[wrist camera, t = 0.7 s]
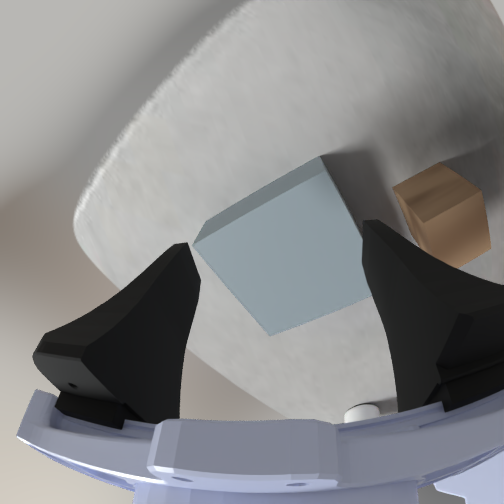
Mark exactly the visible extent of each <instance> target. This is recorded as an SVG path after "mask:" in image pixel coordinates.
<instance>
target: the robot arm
mask: <svg viewBox="0 0 504 504" xmlns="http://www.w3.org/2000/svg"><path fill="white" fill-rule="evenodd" d="M362 266H363V270H364V274H365V277H366V281H367V284H368V287H369V289H370V292H371V294H372V297H373V299H374V302H375V304H376V307H377V309H378V312H379V315H380V317H381V320H382V323H383V325H384V329H385V332H386V336H387V340H388V344H389V349H390V354H391V359H392V364H393V370H394V377H395V384H396V392H397V402H398V413H396V414H391V415H387V416H382V417H377V418H372V419H366V420H361V421H355V422H348V423H342V424H334V425H333V424H331V423H328V422H323V421H319V420H315V419H287V420H266V421H216V420H196V419H180V416H179V415H180V412H179V411H180V389H181V379H182V369H183V362H184V354H185V349H186V344H187V340H188V336H189V333H190V329H191V325H192V322H193V318H194V315H195V311H196V307H197V304H198V299H199V292H200V284H201V279H200V276H199V273H198V271H197V268H196V265H195V262H194V260H193V257H192V254H191V251H190V248H189V245H188V242H187V243H179V244H174V245H173V246H171V247H170V248H169V249H168V250H166V251H165V252H164V253H163V254H162V255H161V256H160V257H159V258H157V259H156V260H155V261H154V262H153V263H152V264H151V265H150V266H149V267H148V268H147V269H146V270H145V271H143V272H142V273H141V274H140V275H139V276H138V277H137V278H135V279H134V280H133V281H132V282H131V283H130V284H129V285H127V286H126V287H125V288H124V289H122V290H121V291H120V292H119V293H117V294H116V295H114V296H113V297H112V298H110V299H109V300H108V301H106V302H105V303H103V304H101V305H100V306H98V307H97V308H95V309H94V310H92V311H91V312H89V313H87V314H85V315H84V316H82V317H80V318H78V319H76V320H74V321H72V322H70V323H68V324H66V325H64V326H62V327H59V328H57V329H55V330H52V331H50V332H48V333H45V334H44V336H43V337H42V339H41V341H40V343H39V344H38V346H37V348H36V350H35V351H34V353H33V360H34V364H35V365H36V367H37V368H38V370H39V371H40V372H41V373H42V374H43V375H44V376H45V377H46V378H47V379H48V380H49V381H50V382H51V383H52V384H53V385H54V386H55V387H56V388H58V389H59V390H60V391H61V392H60V395H59V397H57V396H55V395H53V394H51V393H47V392H44V391H41V390H38V389H36V390H35V392H34V394H33V396H32V398H31V400H30V403H29V405H28V407H27V410H26V412H25V415H24V417H23V419H22V422H21V424H20V427H19V430H18V432H17V438H18V439H20V440H21V441H23V442H24V443H26V444H27V445H29V446H30V447H32V448H34V449H35V450H37V451H38V452H40V453H42V454H43V455H45V456H47V457H48V458H50V459H52V460H54V461H56V462H58V463H60V464H62V465H64V466H66V467H69V468H71V469H73V470H75V471H78V472H80V473H83V474H85V475H88V476H90V477H92V478H95V479H98V480H100V481H103V482H106V483H109V484H111V485H114V486H118V487H120V488H123V489H127V490H130V491H133V492H135V494H134V499H133V504H419V500H418V491H417V489H418V488H421V487H424V486H427V485H430V484H434V486H435V487H436V490H438V491H440V492H444V493H448V494H452V495H456V496H460V497H463V498H465V502H466V504H504V285H501V284H497V283H493V282H490V281H487V280H484V279H481V278H478V277H476V276H473V275H471V274H468V273H466V272H464V271H461V270H459V269H457V268H455V267H452V266H450V265H448V264H446V263H445V262H443V261H441V260H439V259H437V258H435V257H433V256H432V255H430V254H428V253H427V252H425V251H424V250H422V249H420V248H419V247H417V246H416V245H414V244H413V243H411V242H410V241H408V240H407V239H405V238H404V237H402V236H401V235H400V234H398V233H397V232H395V231H394V230H392V229H391V228H390V227H388V226H387V225H385V224H384V223H382V222H381V221H379V220H367V221H363V241H362Z"/></svg>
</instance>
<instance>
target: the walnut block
mask: <svg viewBox="0 0 504 504" xmlns="http://www.w3.org/2000/svg"><path fill="white" fill-rule="evenodd" d="M392 188H393V190H394V193H395V195H396V197H397V200H398V202H399V204H400V207H401V209H402V212H403V214H404V217H405V219H406V222H407V225H408V227H409V230H410V232H411V235H412V236H413V238H414V239H415V241H416V242H417V244H418V245H419V247H420V248H421V249H422V250H424V251H425V252H427V253H428V254H430V255H432V256H433V257H435V258H437V259H439V260H441V261H443V262H445V263H446V264H448V265H450V266H452V267H455V268H459V267H461V266H463V265H464V264H466V263H468V262H469V261H471V260H473V259H475V258H476V257H478V256H480V255H481V254H483V253H485V252H486V251H488V250H489V249H491V241H490V234H489V227H488V221H487V215H486V210H485V205H484V200H483V195H482V191H481V190H480V189H479V188H477V187H476V186H475V185H473V184H472V183H470V182H469V181H467V180H466V179H465V178H463V177H462V176H460V175H459V174H457V173H456V172H454V171H453V170H451V169H449V168H448V167H446V166H445V165H443V164H442V163H440V162H439V163H437V164H435V165H433V166H432V167H430V168H428V169H426V170H424V171H422V172H420V173H418V174H417V175H415V176H413V177H411V178H409V179H407V180H405V181H403V182H401V183H400V184H398V185H396V186H394V187H392Z"/></svg>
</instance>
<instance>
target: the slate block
mask: <svg viewBox="0 0 504 504" xmlns="http://www.w3.org/2000/svg"><path fill="white" fill-rule="evenodd" d="M362 241H363V236H362V234H361V232H360V230H359V228H358V226H357V224H356V222H355V220H354V218H353V216H352V214H351V212H350V210H349V208H348V206H347V204H346V202H345V200H344V199H343V197H342V195H341V193H340V191H339V189H338V187H337V186H336V184H335V182H334V180H333V178H332V177H331V175H330V173H329V171H328V170H327V168H326V166H325V164H324V163H323V161H322V159H321V157H320V156H318V157H316V158H314V159H313V160H311V161H309V162H307V163H305V164H304V165H302V166H300V167H298V168H296V169H295V170H293V171H291V172H289V173H287V174H286V175H284V176H282V177H280V178H279V179H277V180H275V181H273V182H271V183H270V184H268V185H266V186H265V187H263V188H261V189H259V190H258V191H256V192H254V193H252V194H251V195H249V196H247V197H246V198H244V199H242V200H241V201H239V202H237V203H236V204H234V205H232V206H231V207H229V208H227V209H226V210H224V211H222V212H221V213H219V214H217V215H216V216H214V217H212V218H211V219H209V220H208V221H206V222H205V224H204V225H203V227H202V229H201V231H200V232H199V234H198V236H197V238H196V239H195V241H194V243H193V245H192V246H193V247H194V249H195V250H196V251H197V252H198V253H199V255H200V256H201V257H202V258H203V259H204V261H205V262H206V263H207V264H208V265H209V267H210V268H211V269H212V270H213V271H214V273H215V274H216V275H217V276H218V277H219V278H220V280H221V281H222V282H223V283H224V284H225V285H226V287H227V288H228V289H229V290H230V291H231V293H232V294H233V295H234V296H235V297H236V298H237V299H238V301H239V302H240V303H241V304H242V305H243V306H244V308H245V309H246V310H247V311H248V312H249V313H250V314H251V316H252V317H253V318H254V319H255V320H256V321H257V322H258V323H259V325H260V326H261V327H262V328H263V329H264V330H265V331H266V332H267V334H268V335H269V336H272V335H275V334H278V333H280V332H283V331H286V330H289V329H291V328H294V327H297V326H299V325H302V324H305V323H307V322H310V321H312V320H315V319H317V318H320V317H322V316H325V315H327V314H330V313H332V312H335V311H337V310H340V309H342V308H344V307H347V306H349V305H352V304H354V303H356V302H358V301H361V300H363V299H365V298H368V297H370V296H372V294H371V292H370V289H369V287H368V284H367V281H366V277H365V274H364V270H363V266H362Z"/></svg>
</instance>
